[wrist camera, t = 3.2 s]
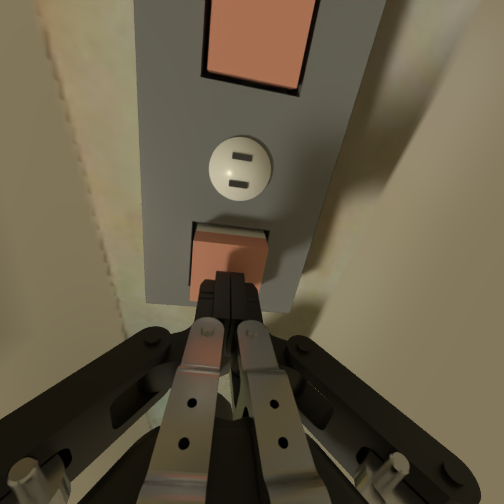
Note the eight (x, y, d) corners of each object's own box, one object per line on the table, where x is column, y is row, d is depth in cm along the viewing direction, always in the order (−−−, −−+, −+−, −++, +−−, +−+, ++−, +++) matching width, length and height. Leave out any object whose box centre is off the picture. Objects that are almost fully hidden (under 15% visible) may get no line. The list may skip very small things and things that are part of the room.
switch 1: (218, -33, 11) (216, -67, 9) (305, -10, 12) (322, -36, 10) (210, 75, 13) (207, 69, 11) (285, 91, 14) (296, 88, 12)
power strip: (152, -300, 9) (107, -542, 6) (409, -194, 10) (494, -336, 7) (158, 273, 20) (144, 305, 17) (280, 284, 22) (290, 316, 18)
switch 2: (198, 221, 15) (193, 240, 13) (263, 229, 16) (268, 248, 14) (194, 276, 17) (189, 300, 15) (252, 281, 18) (256, 305, 16)
